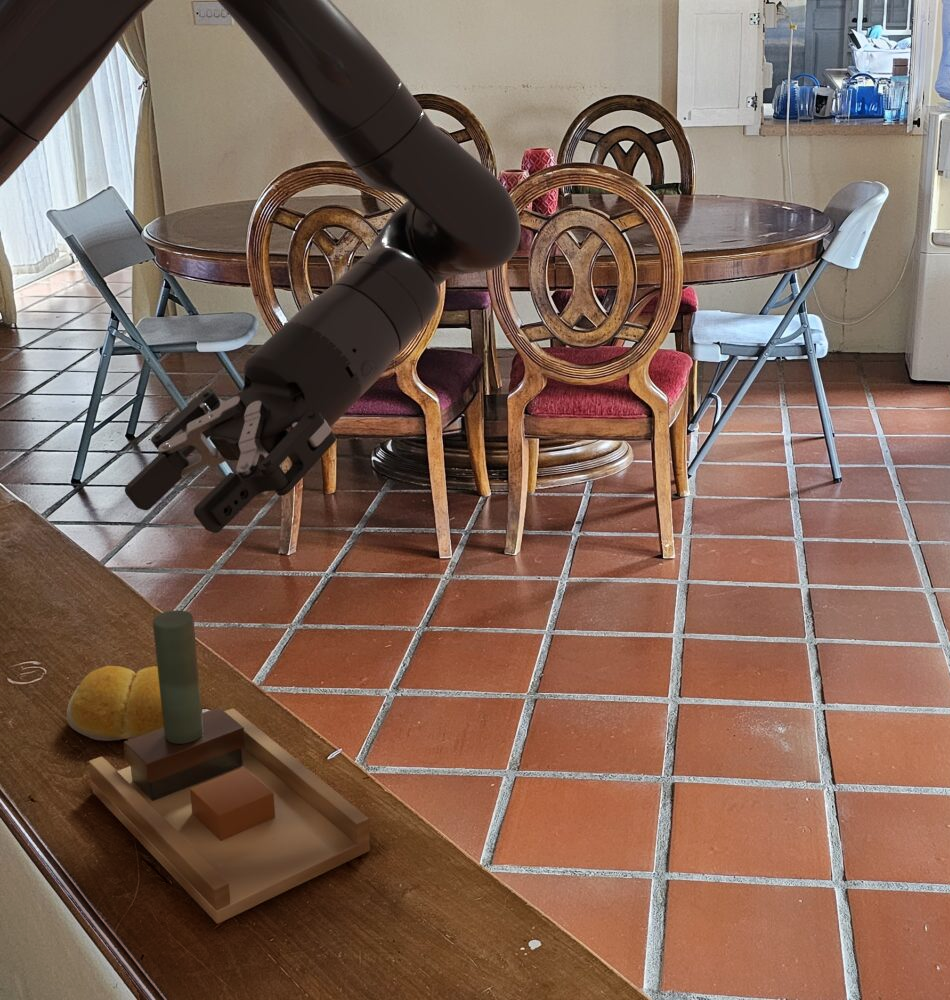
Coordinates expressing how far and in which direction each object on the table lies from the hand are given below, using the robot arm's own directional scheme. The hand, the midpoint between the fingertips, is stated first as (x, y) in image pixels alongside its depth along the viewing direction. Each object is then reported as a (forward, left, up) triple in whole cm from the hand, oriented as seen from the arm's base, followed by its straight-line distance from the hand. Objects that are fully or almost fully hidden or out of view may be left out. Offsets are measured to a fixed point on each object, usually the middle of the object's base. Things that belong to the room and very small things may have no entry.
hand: (167, 512), depth 87 cm
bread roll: (-7, +4, -20) cm, 21 cm away
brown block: (+7, -6, -19) cm, 21 cm away
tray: (+6, -6, -20) cm, 21 cm away
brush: (+2, -3, -19) cm, 19 cm away
